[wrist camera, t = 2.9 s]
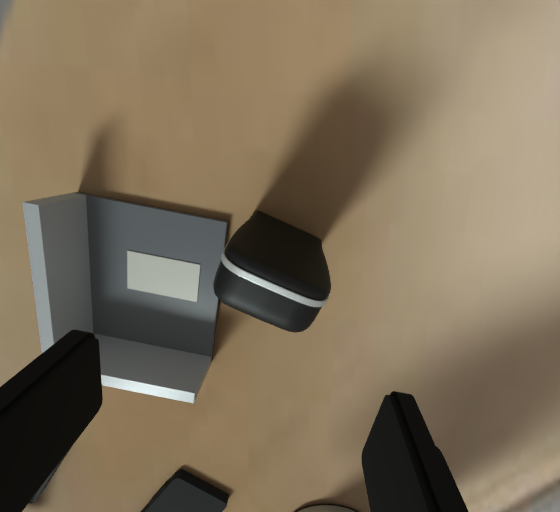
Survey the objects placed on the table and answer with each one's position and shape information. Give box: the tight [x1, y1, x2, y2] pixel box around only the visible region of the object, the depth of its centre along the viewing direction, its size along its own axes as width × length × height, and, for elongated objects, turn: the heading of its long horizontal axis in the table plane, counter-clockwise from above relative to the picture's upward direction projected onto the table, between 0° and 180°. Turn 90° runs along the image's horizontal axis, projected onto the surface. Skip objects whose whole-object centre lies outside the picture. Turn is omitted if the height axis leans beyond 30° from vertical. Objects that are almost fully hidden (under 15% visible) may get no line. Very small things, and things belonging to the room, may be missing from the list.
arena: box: [22, 192, 228, 403], centre depth 27 cm, size 14×16×6 cm
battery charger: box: [213, 211, 331, 332], centre depth 22 cm, size 7×4×11 cm, turn 66°
